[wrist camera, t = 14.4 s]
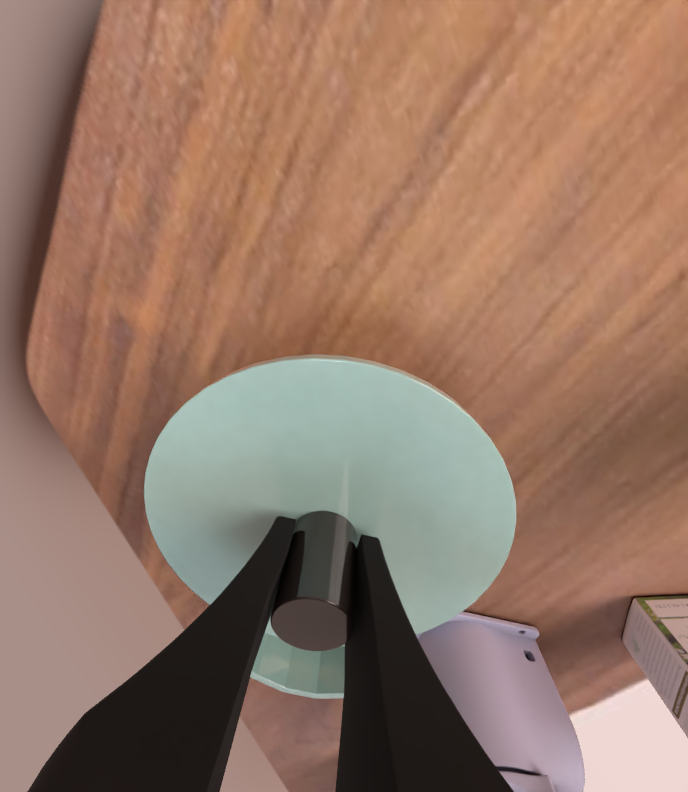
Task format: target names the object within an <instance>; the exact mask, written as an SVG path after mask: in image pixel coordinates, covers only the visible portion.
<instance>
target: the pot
mask: <svg viewBox="0 0 688 792" xmlns="http://www.w3.org/2000/svg"><path fill="white" fill-rule="evenodd" d="M250 677H251V678H253V679H255V680H257V681H259V682H262V683H264V684H266V685H268V686H270V687H273V688H275V689H277V690H279V691H282V692H285V693H290V694H295V695H300V696H305V697H310V698H315V699H316V698H317V699H326V698H344V679H345V646H340V647H338V648H335V649H332V650H327V651H308V650H303V649H299V648H296V647H293V646H291V645H289V644H287V643H285V642H284V641H283V640H281V639H280V638H279V637H276V636H273V635H270V634H267V633H264V636H263V639H262V642H261V645H260V648H259V651H258V653H257V656H256V659H255V662H254V666H253V669H252V672H251V675H250Z"/></svg>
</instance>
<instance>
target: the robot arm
mask: <svg viewBox="0 0 688 792" xmlns="http://www.w3.org/2000/svg"><path fill="white" fill-rule="evenodd" d="M295 523H296V519H292V518H287V517H283V516H278V517H276V519H275V521H274V523H273V525H272V527H271V529H270V530H269V532H268V534H267V535H266V537H265V538H264V540H263V541H262V543H261V544H260V546H259V547H258V548H257V550H256V551H255V552H254V554H253V555H252V556H251V558H250V559H249V560H248V562H247V563H246V564H245V566H244V567H243V568H242V569H241V570H240V572H239V573H238V574H237V575H236V576H235V578H234V579H233V580H232V581H231V582H230V584H229V585H228V586H227V587H226V588H225V589H224V590H223V592H222V593H221V594H220V595H219V596H218V597H217V598H216V599H215V600H214V601H213V602H212V603H211V605H210V606H209V607H208V608H207V609H206V610H205V611H204V612H203V613H202V614H201V615H200V616H199V617H198V618H197V619H196V620H195V621H194V622H193V623H192V624H191V625H190V626H189V627H187V628H186V629H185V630H184V631H183V633H181V634H180V635H179V636H178V637H177V638H176V639H175V640H174V641H173V642H172V643H170V644H169V645H168V646H167V647H166V648H165V649H164V650H162V651H161V652H160V653H159V654H158V655H157V656H155V657H154V658H153V659H152V660H151V661H150V662H149V663H147V664H146V665H145V666H144V667H143V668H142V669H141V670H139V671H138V672H137V673H136V674H134V675H133V676H132V677H131V678H130V679H128V680H127V681H126V682H125V683H123V684H122V685H121V686H119V687H118V688H117V689H116V690H114V691H113V692H112V693H110V694H109V695H108V696H107V697H105V698H104V699H103V700H102V701H100V702H99V703H98V704H96V705H95V706H94V707H93V708H92V709H90V710H89V711H88V712H86V713H85V714H84V715H83V716H82V717H81V719H80V720H79V721H78V722H77V723H76V725H75V726H74V727H73V728H72V729H71V731H70V732H69V733H68V734H67V735H66V737H65V738H64V739H63V741H62V742H61V743H60V744H59V746H58V747H57V748H56V750H55V751H54V753H53V754H52V755H51V757H50V758H49V760H48V761H47V762H46V763H45V765H44V766H43V768H42V769H41V771H40V773H39V774H38V776H37V778H36V779H35V781H34V783H33V784H32V786H31V787H30V789H29V791H28V792H219V791H220V787H221V783H222V780H223V776H224V772H225V769H226V765H227V761H228V757H229V754H230V749H231V746H232V742H233V739H234V735H235V731H236V727H237V723H238V720H239V716H240V712H241V709H242V705H243V701H244V697H245V694H246V690H247V686H248V683H249V679H250V675H251V672H252V669H253V666H254V662H255V659H256V656H257V653H258V651H259V648H260V645H261V642H262V639H263V636H264V633H265V630H266V627H267V624H268V622H269V619H270V616H271V613H272V609H273V605H274V602H275V598H276V594H277V590H278V586H279V583H280V579H281V575H282V571H283V568H284V565H285V562H286V559H287V555H288V552H289V548H290V544H291V540H292V536H293V532H294V528H295ZM538 636H539V631H538V629H537V628H536V627H533V626H528V625H524V624H519V623H514V622H510V621H505V620H500V619H496V618H491V617H486V616H482V615H477V614H472V613H468V612H461V613H460V614H458V615H457V616H455V617H453V618H452V619H450V620H448V621H447V622H445V623H443V624H441V625H439V626H437V627H435V628H433V629H431V630H428V631H426V632H423V633H420V634H417V635H416V634H415V632H414V630H413V628H412V625H411V623H410V621H409V619H408V617H407V614H406V612H405V610H404V607H403V605H402V603H401V600H400V598H399V595H398V593H397V590H396V588H395V585H394V582H393V580H392V577H391V574H390V571H389V569H388V566H387V563H386V560H385V557H384V553H383V550H382V547H381V543H380V540H379V539H378V538H376V537H372V536H368V535H363V534H361V537H360V540H359V543H358V546H357V549H356V581H355V613H354V631H353V634H352V636H351V638H350V639H349V640H348V641H347V642H346V643H345V679H344V700H343V712H342V725H341V737H340V748H339V759H338V770H337V781H336V791H335V792H583V790H584V783H585V773H584V764H583V758H582V753H581V749H580V745H579V741H578V738H577V735H576V732H575V730H574V727H573V725H572V722H571V720H570V718H569V715H568V713H567V711H566V709H565V706H564V704H563V702H562V699H561V697H560V695H559V693H558V690H557V688H556V686H555V684H554V681H553V679H552V677H551V675H550V672H549V670H548V668H547V665H546V663H545V661H544V659H543V656H542V654H541V652H540V650H539V647H538V645H537V643H536V641H535V640H536V639H537V637H538Z"/></svg>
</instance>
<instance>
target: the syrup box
mask: <svg viewBox="0 0 688 792" xmlns="http://www.w3.org/2000/svg"><path fill="white" fill-rule="evenodd" d="M622 641H623V643H624V645H625V646H626V648H627V650H628V651H629V652H630V654H631V655H632V657H633V658H634V660H635V661H636V663H637V664H638V665H639V667H640V668H641V670H642V671H643V672H644V674H645V675H646V677H647V678H648V680H649V681H650V682H651V684H652V685H653V687H654V688H655V690H656V691H657V693H658V694H659V696H660V697H661V699H662V700H663V702H664V703H665V705H666V706H667V708H668V709H669V710H670V712H671V713H672V715H673V717H674V718H675V720H676V721H677V722H678V724H679V725H680V727H681V728H682V730H683V731H684V733H685V734H686V736H687V737H688V595H684V596H661V597H641V598H634V599H633V601H632V604H631V607H630V610H629V613H628V617H627V621H626V625H625V629H624V633H623V638H622Z"/></svg>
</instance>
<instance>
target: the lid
mask: <svg viewBox="0 0 688 792" xmlns="http://www.w3.org/2000/svg"><path fill="white" fill-rule="evenodd" d="M144 500H145V509H146V515H147V519H148V522H149V526H150V530H151V532H152V534H153V537H154V539H155V541H156V544H157V546H158V548H159V549H160V551H161V553H162V554H163V556H164V558H165V559H166V561H167V563H168V564H169V565H170V567H171V568H172V569H173V570H174V572H175V573H176V574H177V575H178V577H179V578H180V579H181V580H182V581H183V582H184V583H185V584H186V585H187V586H188V587H189V588H190V589H191V590H192V591H193V592H194V593H196V594H197V595H198V596H199V597H201V598H202V599H203V600H204V601H205V602H207V603H208V604H210V605H211V603H212V602H213V601H214V600H215V599H216V598H217V597H218V596H219V595H220V594H221V593H222V592H223V590H224V589H225V588H226V587H227V586H228V585H229V584H230V582H231V581H232V580H233V579H234V578H235V576H236V575H237V574H238V573H239V572H240V570H241V569H242V568H243V567H244V566H245V564H246V563H247V562H248V560H249V559H250V558H251V556H252V555H253V554H254V552H255V551H256V550H257V548H258V547H259V546H260V544H261V543H262V541H263V540H264V538H265V537H266V535H267V534H268V532H269V530H270V529H271V527H272V525H273V523H274V521H275V519H276V517H278V516H283V517H287V518H292V519H296V523H295V528H294V532H293V536H292V540H291V544H290V548H289V552H288V555H287V559H286V562H285V565H284V568H283V571H282V575H281V579H280V583H279V586H278V590H277V594H276V598H275V602H274V605H273V609H272V613H271V616H270V619H269V622H268V624H267V627H266V630H265V633H267V634H270V635H273V636H276V637H279V638H280V639H281V640H283V641H284V642H285V643H287V644H289V645H291V646H293V647H296V648H299V649H303V650H308V651H327V650H332V649H335V648H338V647H340V646H345V643H346V642H347V641H348V640H349V639H350V638H351V636H352V634H353V631H354V613H355V581H356V549H357V546H358V543H359V540H360V537H361V534H363V535H368V536H372V537H376V538H378V539H379V540H380V543H381V547H382V550H383V553H384V557H385V560H386V563H387V566H388V569H389V571H390V574H391V577H392V580H393V582H394V585H395V588H396V590H397V593H398V595H399V598H400V600H401V603H402V605H403V607H404V610H405V612H406V614H407V617H408V619H409V621H410V623H411V625H412V628H413V630H414V632H415V634H416V635H417V634H420V633H423V632H426V631H428V630H431V629H433V628H435V627H437V626H439V625H441V624H443V623H445V622H447V621H448V620H450V619H452V618H453V617H455V616H457V615H458V614H460V613H461V612H463V611H464V610H465V609H466V608H468V607H469V606H470V605H471V604H473V603H474V602H475V601H476V600H477V599H478V598H479V597H480V596H481V595H482V594H483V593H484V592H485V591H486V590H487V589H488V588H489V587H490V585H491V584H492V582H493V581H494V580H495V578H496V577H497V576H498V574H499V573H500V571H501V569H502V567H503V565H504V563H505V561H506V559H507V557H508V555H509V552H510V549H511V545H512V542H513V539H514V533H515V526H516V499H515V494H514V489H513V485H512V480H511V477H510V475H509V472H508V470H507V467H506V465H505V462H504V460H503V458H502V456H501V455H500V453H499V451H498V450H497V448H496V446H495V445H494V443H493V442H492V440H491V438H490V437H489V435H488V434H487V433H486V431H485V430H484V429H483V428H482V427H481V425H480V424H479V423H478V422H477V421H476V420H475V419H474V417H473V416H472V415H471V414H470V413H469V412H468V411H467V410H465V409H464V408H463V407H462V406H461V405H460V404H458V403H457V402H456V401H455V400H454V399H453V398H451V397H450V396H449V395H447V394H446V393H444V392H442V391H441V390H439V389H438V388H436V387H435V386H433V385H431V384H430V383H428V382H427V381H425V380H422V379H420V378H418V377H416V376H414V375H412V374H409V373H407V372H405V371H403V370H401V369H397V368H394V367H391V366H388V365H385V364H381V363H378V362H375V361H371V360H365V359H360V358H354V357H348V356H340V355H320V354H310V355H298V356H285V357H281V358H276V359H271V360H266V361H262V362H257V363H255V364H252V365H249V366H246V367H244V368H241V369H238V370H235V371H233V372H231V373H229V374H227V375H225V376H223V377H221V378H220V379H218V380H216V381H214V382H212V383H210V384H209V385H208V386H206V387H205V388H204V389H202V390H201V391H200V392H198V393H197V394H196V395H194V396H193V397H192V398H190V399H189V400H188V401H187V402H186V403H185V404H184V405H183V406H182V407H181V408H180V409H179V410H178V411H177V412H176V413H175V414H174V415H173V416H172V417H171V418H170V420H169V421H168V423H167V424H166V426H165V427H164V429H163V430H162V431H161V433H160V434H159V436H158V438H157V440H156V442H155V445H154V447H153V449H152V451H151V454H150V456H149V461H148V465H147V469H146V473H145V483H144Z"/></svg>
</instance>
